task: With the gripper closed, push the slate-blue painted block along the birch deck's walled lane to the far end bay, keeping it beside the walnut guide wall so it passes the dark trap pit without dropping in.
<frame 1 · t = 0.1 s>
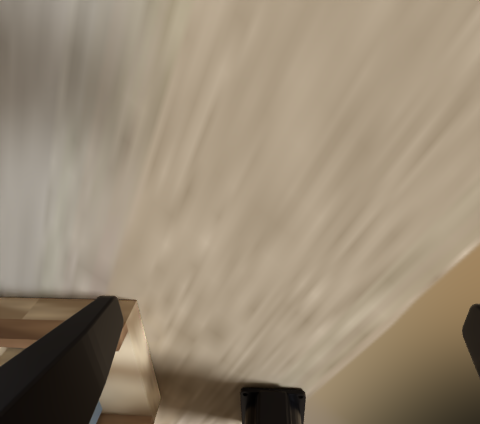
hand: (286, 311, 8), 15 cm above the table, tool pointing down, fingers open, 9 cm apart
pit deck: (53, 350, 33), on the table
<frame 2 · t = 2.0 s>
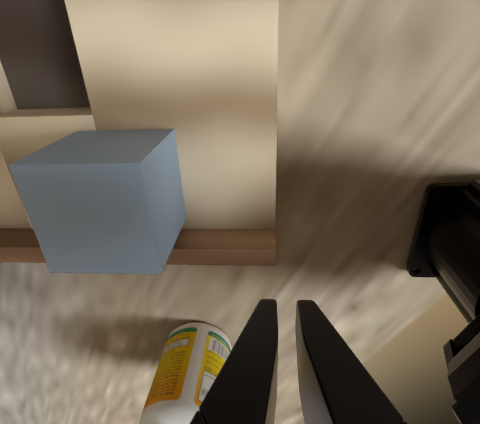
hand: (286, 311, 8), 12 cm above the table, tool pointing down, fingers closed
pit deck: (98, 115, 19), on the table
supplement bottle: (200, 341, 27), on the table
block: (134, 176, 17), point 2 cm above the table, touching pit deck
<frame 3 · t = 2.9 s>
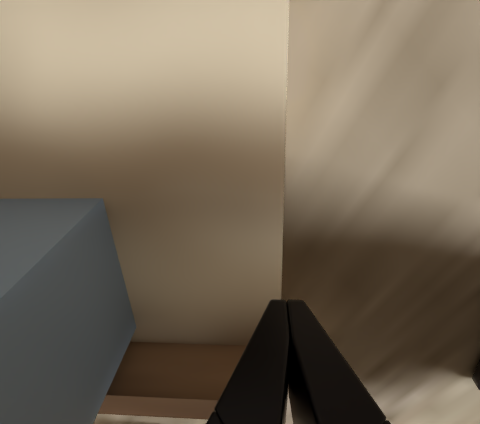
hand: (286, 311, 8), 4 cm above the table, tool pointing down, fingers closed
block: (46, 269, 10), point 2 cm above the table, touching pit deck
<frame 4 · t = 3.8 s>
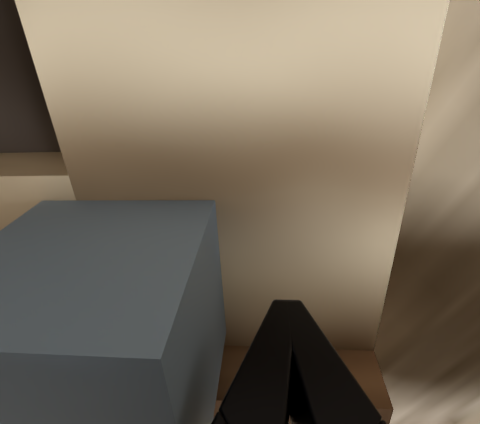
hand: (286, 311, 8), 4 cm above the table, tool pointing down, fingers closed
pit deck: (84, 162, 11), on the table
block: (142, 271, 10), point 3 cm above the table, touching gripper, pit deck
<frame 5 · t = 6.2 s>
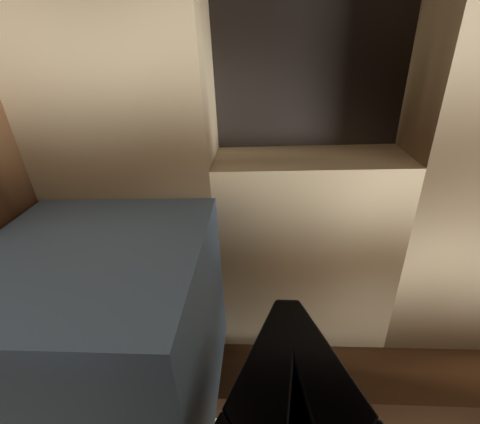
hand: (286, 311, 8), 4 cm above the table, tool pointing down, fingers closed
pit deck: (357, 156, 11), on the table
block: (142, 270, 10), point 2 cm above the table, touching gripper, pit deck
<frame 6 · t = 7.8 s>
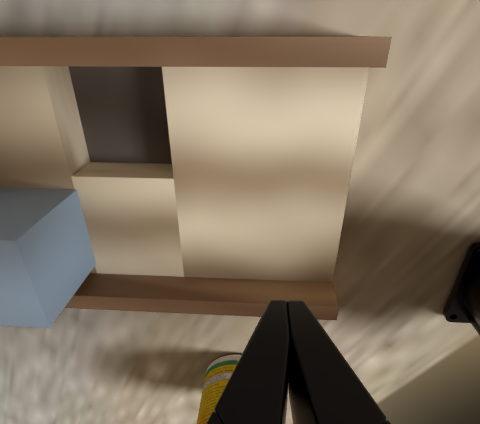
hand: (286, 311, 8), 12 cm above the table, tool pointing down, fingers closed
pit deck: (168, 169, 19), on the table
supplement bottle: (237, 370, 28), on the table
block: (45, 227, 19), point 2 cm above the table, touching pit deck
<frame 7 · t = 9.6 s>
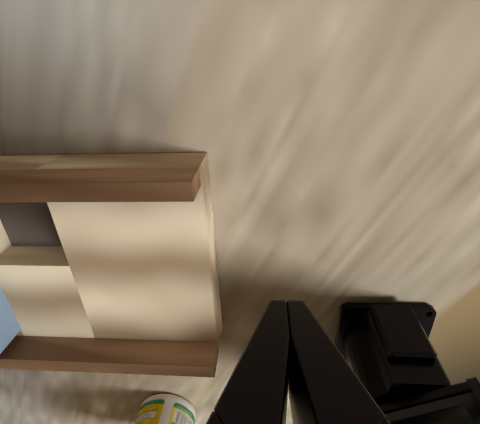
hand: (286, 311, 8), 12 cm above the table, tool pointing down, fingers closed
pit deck: (76, 249, 23), on the table
supplement bottle: (169, 406, 32), on the table
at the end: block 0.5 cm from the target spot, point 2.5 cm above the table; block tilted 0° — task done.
